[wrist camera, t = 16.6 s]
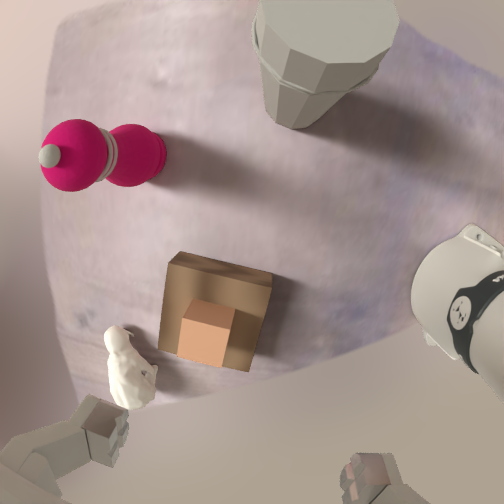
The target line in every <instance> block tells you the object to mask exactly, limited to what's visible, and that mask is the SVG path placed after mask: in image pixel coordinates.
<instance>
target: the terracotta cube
mask: <svg viewBox="0 0 504 504" xmlns="http://www.w3.org/2000/svg"><path fill="white" fill-rule="evenodd" d="M234 313H235V309H234V308H230V307H226V306H222V305H218V304H214V303H210V302H206V301H202V300H198V299H194V298H193V300H192V301H191V303H190V305H189V307H188V309H187V310H186V312H185V314H184V316H183V317H182V323H181V330H180V337H179V344H178V351H177V357H181V358H184V359H188V360H192V361H196V362H199V363H203V364H207V365H211V366H215V367H220V368H221V367H222V363H223V359H224V355H225V351H226V347H227V343H228V339H229V334H230V330H231V326H232V321H233V317H234Z"/></svg>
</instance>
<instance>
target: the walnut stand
mask: <svg viewBox="0 0 504 504" xmlns="http://www.w3.org/2000/svg"><path fill="white" fill-rule="evenodd" d="M271 291H272V273H269V272H265V271H261V270H256V269H252V268H248V267H244V266H239V265H235V264H231V263H227V262H223V261H218V260H214V259H210V258H206V257H202V256H198V255H194V254H190V253H185V252H181V251H180V252H179V253H178V254H177V255H176V256H175V257H174V258H173V259H172V260H171V261H170V262H169V263H168V268H167V275H166V282H165V290H164V297H163V305H162V313H161V322H160V331H159V341H158V349H159V350H162V351H166V352H169V353H173V354H176V355H177V351H178V344H179V337H180V330H181V323H182V317H183V316H184V314H185V312H186V310H187V309H188V307H189V305H190V303H191V301H192V300H193V298H194V299H198V300H202V301H206V302H210V303H214V304H218V305H222V306H226V307H230V308H234V309H235V313H234V317H233V321H232V326H231V330H230V334H229V339H228V343H227V347H226V351H225V355H224V359H223V363H222V366H223V367H227V368H231V369H236V370H240V371H245V372H249V369H250V366H251V362H252V359H253V356H254V352H255V349H256V345H257V342H258V338H259V334H260V331H261V327H262V324H263V320H264V317H265V313H266V309H267V306H268V302H269V298H270V295H271Z"/></svg>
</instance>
